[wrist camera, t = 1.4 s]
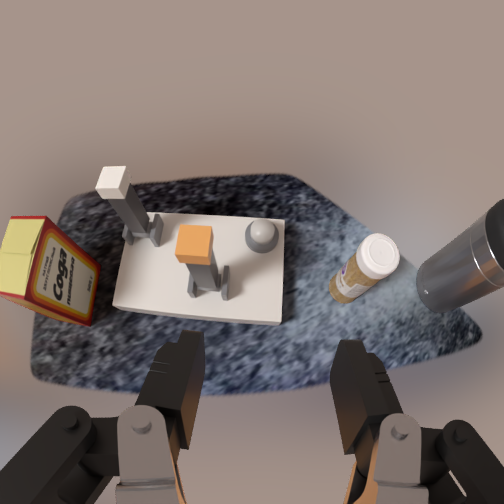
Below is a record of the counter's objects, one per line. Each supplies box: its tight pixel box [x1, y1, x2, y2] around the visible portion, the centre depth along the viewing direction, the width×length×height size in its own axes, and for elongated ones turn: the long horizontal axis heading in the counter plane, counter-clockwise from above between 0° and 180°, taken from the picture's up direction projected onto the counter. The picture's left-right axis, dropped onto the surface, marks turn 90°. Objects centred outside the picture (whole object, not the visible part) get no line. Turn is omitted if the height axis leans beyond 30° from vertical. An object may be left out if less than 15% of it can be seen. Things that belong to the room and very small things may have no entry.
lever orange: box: [175, 224, 221, 292], centre depth 31 cm, size 3×3×13 cm
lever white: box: [96, 166, 153, 238], centre depth 33 cm, size 3×3×13 cm
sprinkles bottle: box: [329, 233, 400, 303], centre depth 34 cm, size 5×5×13 cm
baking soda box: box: [0, 216, 101, 327], centre depth 32 cm, size 10×6×16 cm
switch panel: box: [112, 212, 284, 325], centre depth 38 cm, size 22×14×6 cm, turn 86°
